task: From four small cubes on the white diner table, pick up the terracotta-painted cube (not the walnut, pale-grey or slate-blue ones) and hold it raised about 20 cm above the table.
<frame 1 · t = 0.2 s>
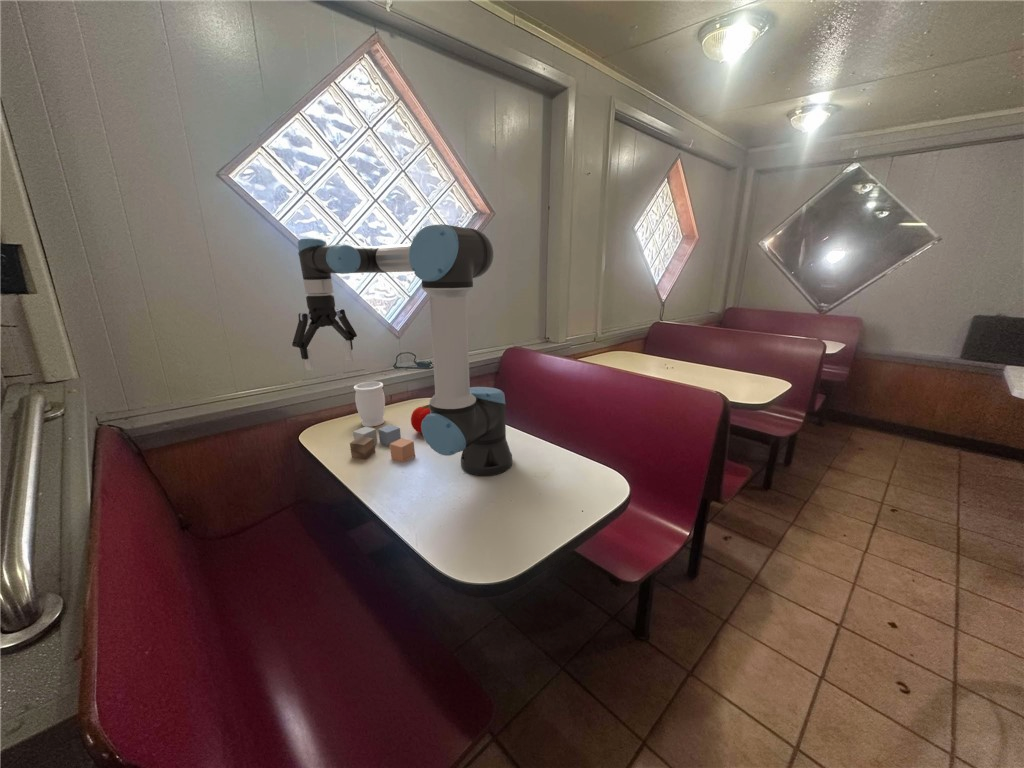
hand: (330, 364, 122), 28 cm above the table, fingers open, 13 cm apart
walnut cube: (363, 455, 124), on the table
jar: (373, 423, 150), on the table
grey cube: (366, 444, 132), on the table
tomato: (430, 432, 141), on the table
slate cube: (390, 442, 133), on the table
terracotta cube: (403, 457, 122), on the table
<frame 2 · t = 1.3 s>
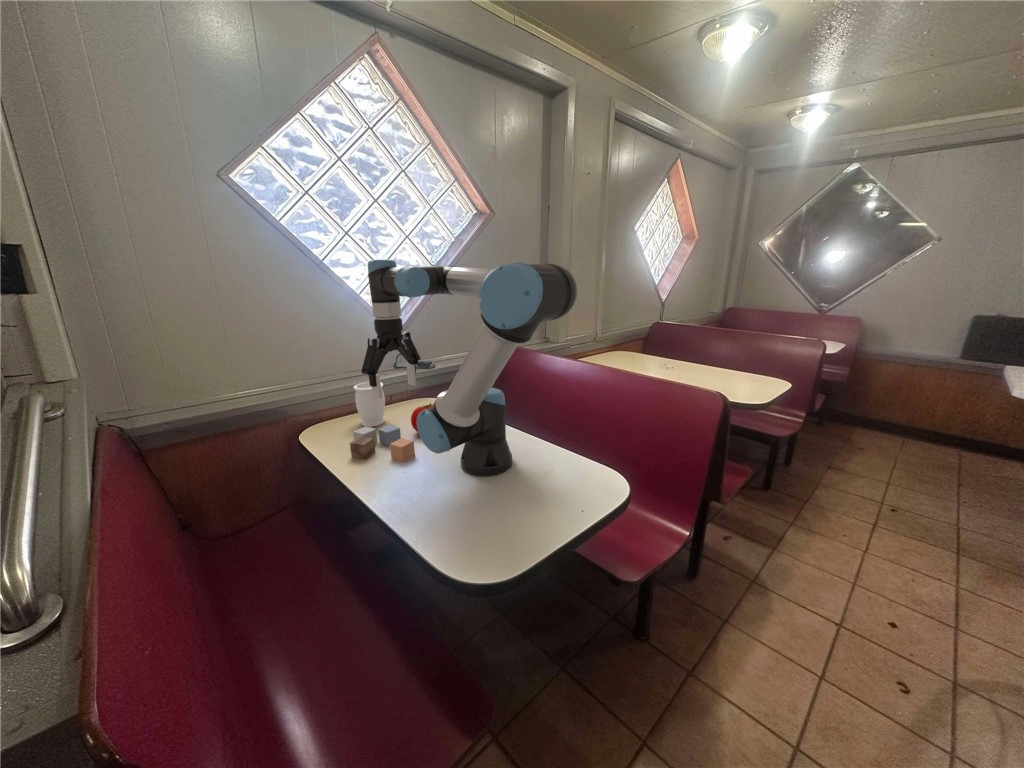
hand: (395, 390, 116), 21 cm above the table, fingers open, 13 cm apart
nothing on the table moved.
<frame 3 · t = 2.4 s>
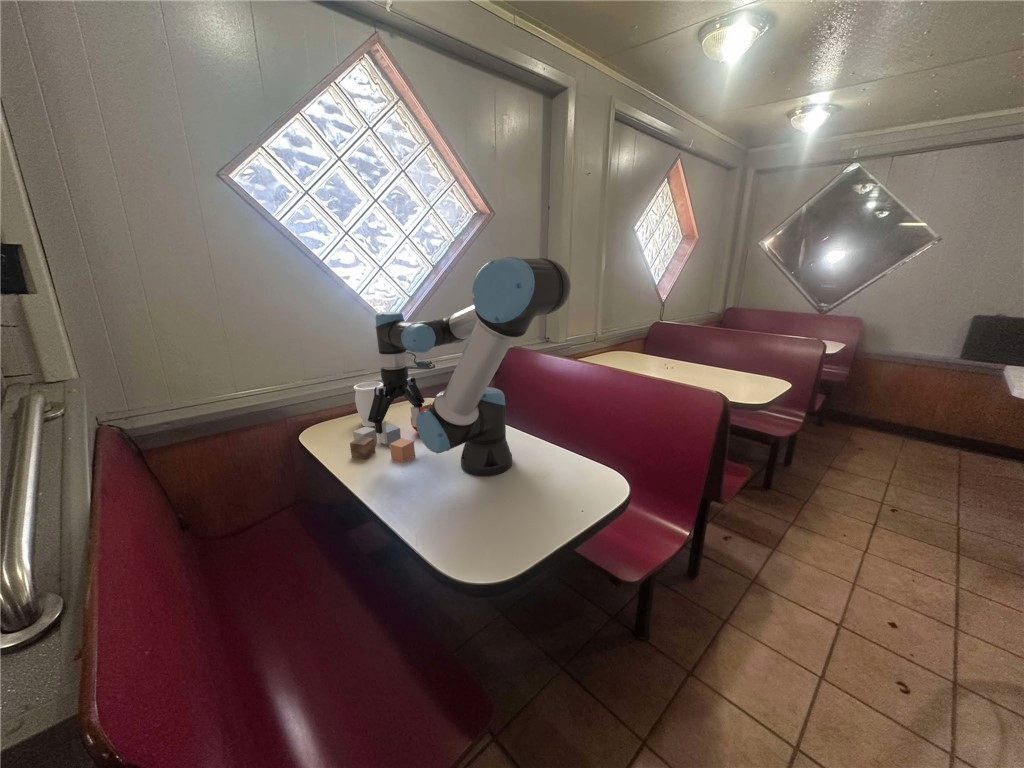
hand: (400, 434, 120), 8 cm above the table, fingers open, 13 cm apart
nothing on the table moved.
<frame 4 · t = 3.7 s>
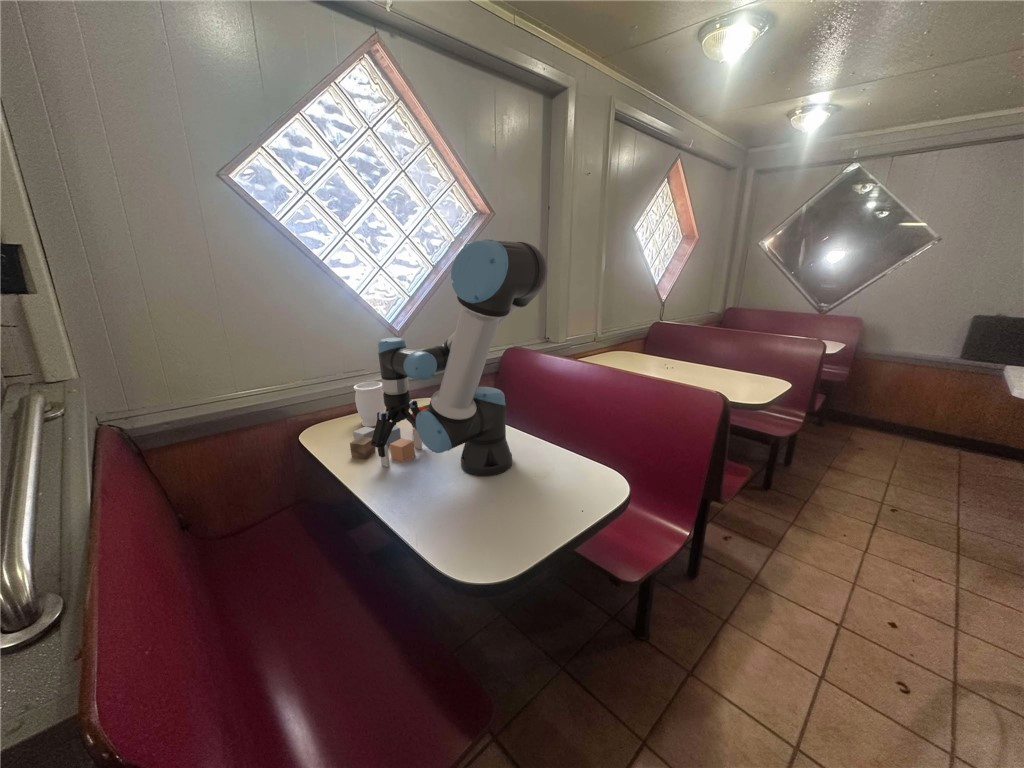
hand: (402, 456, 122), 0 cm above the table, fingers open, 13 cm apart
nothing on the table moved.
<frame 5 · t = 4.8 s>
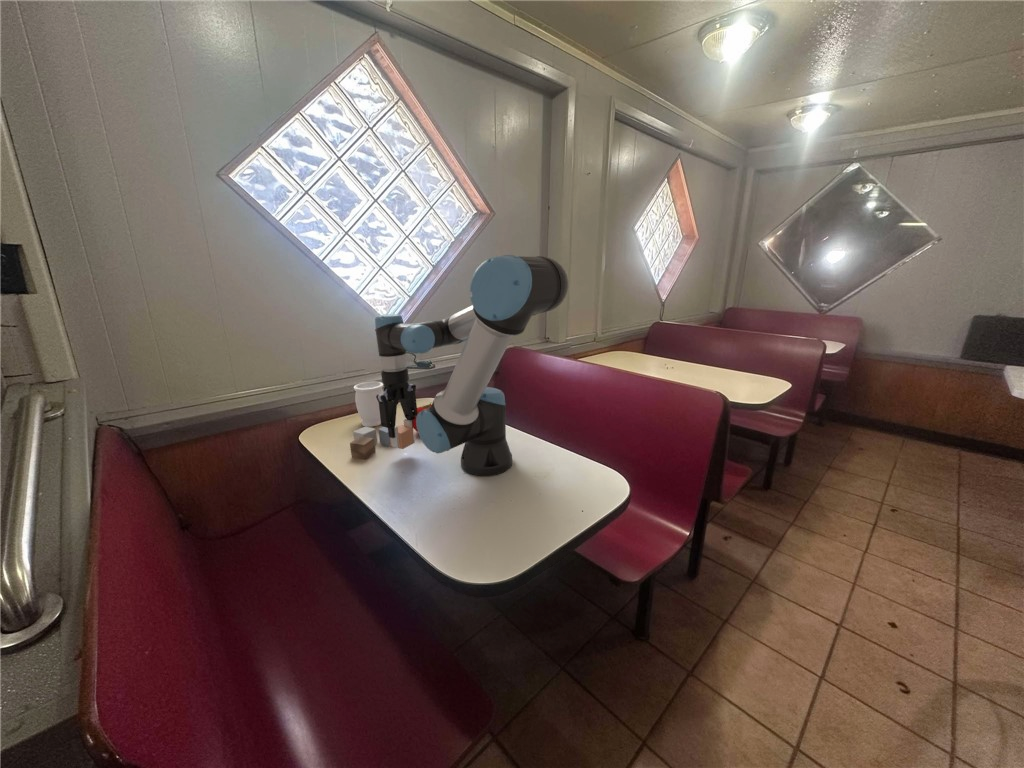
hand: (402, 443, 120), 5 cm above the table, fingers closed on terracotta cube, 5 cm apart
terracotta cube: (402, 444, 121), point 4 cm above the table, touching gripper
everything else where it was.
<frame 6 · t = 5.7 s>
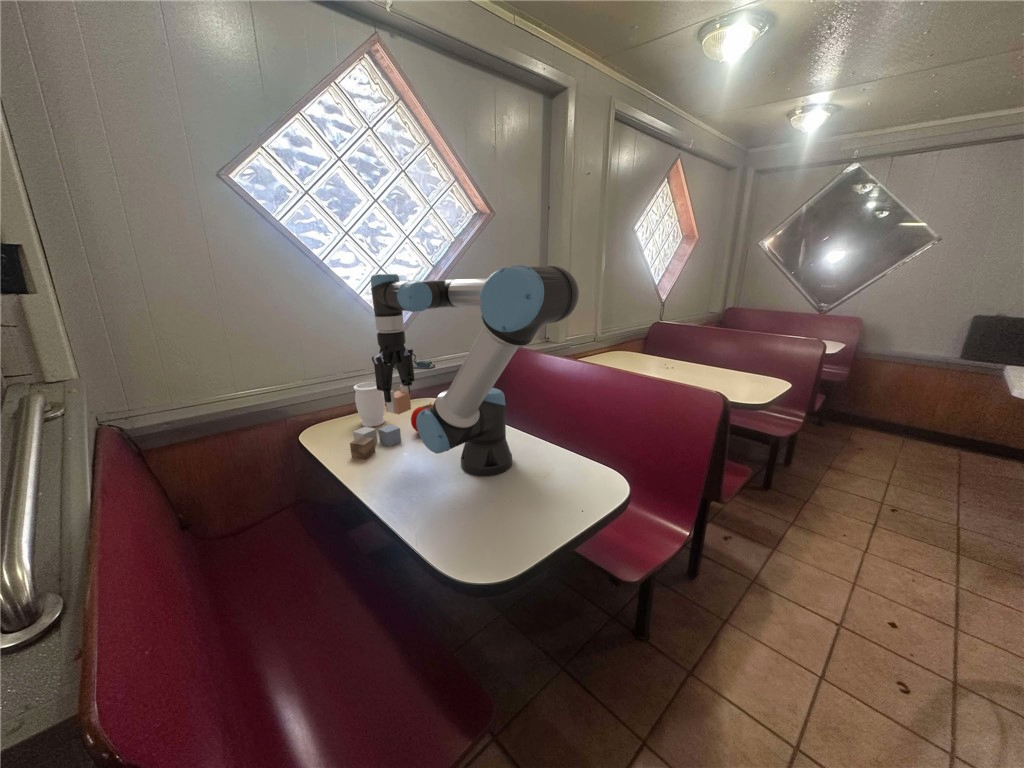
hand: (399, 408, 117), 16 cm above the table, fingers closed on terracotta cube, 5 cm apart
terracotta cube: (398, 410, 118), point 15 cm above the table, touching gripper
everything else where it was.
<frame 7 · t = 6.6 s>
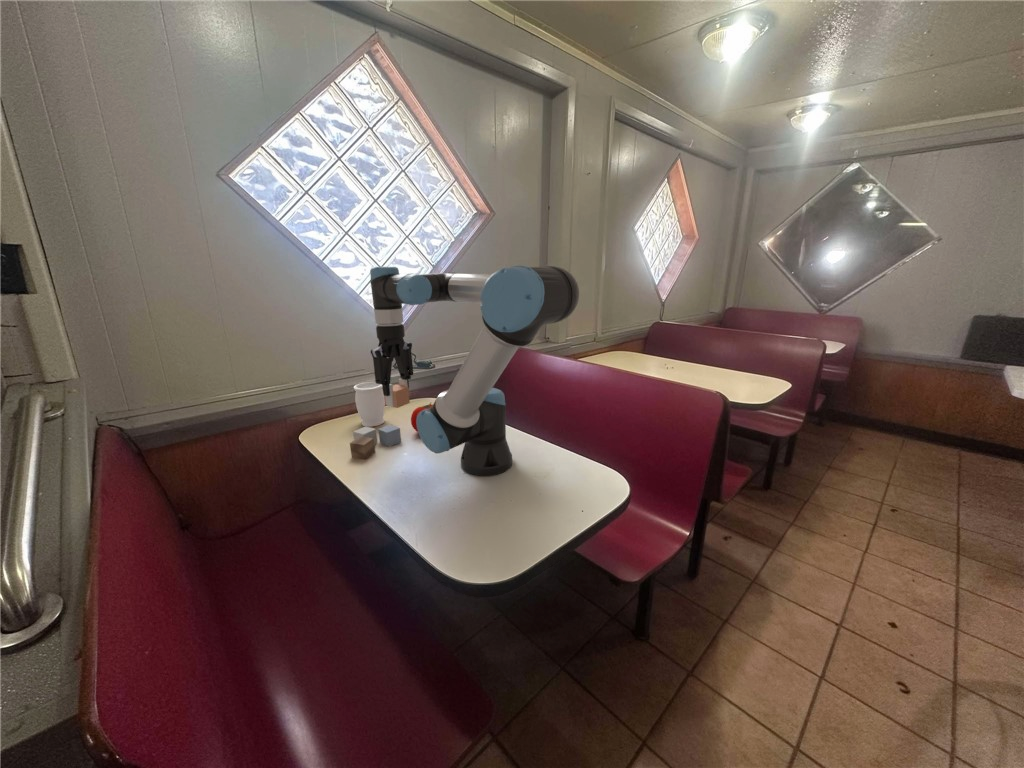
hand: (397, 402, 117), 18 cm above the table, fingers closed on terracotta cube, 5 cm apart
terracotta cube: (397, 403, 117), point 17 cm above the table, touching gripper
everything else where it was.
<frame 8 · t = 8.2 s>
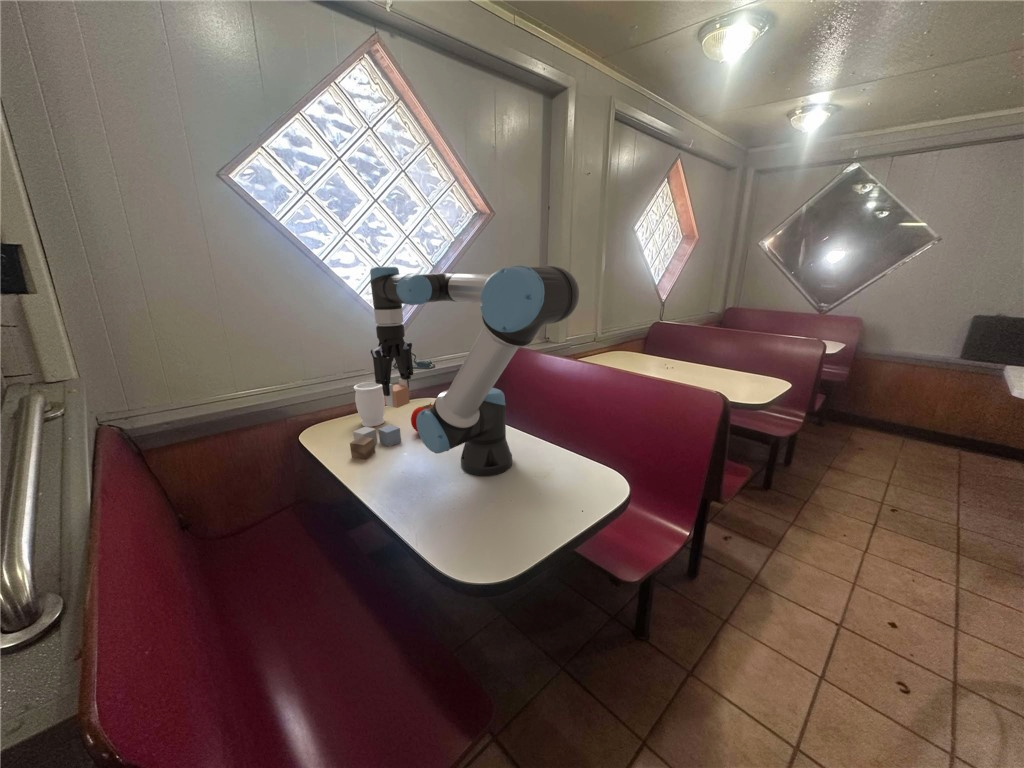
hand: (397, 402, 117), 18 cm above the table, fingers closed on terracotta cube, 5 cm apart
terracotta cube: (397, 403, 117), point 17 cm above the table, touching gripper
everything else where it was.
at the end: the gripper is holding terracotta cube; terracotta cube point 17.3 cm above the table; slate cube moved 0.1 cm from its start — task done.
